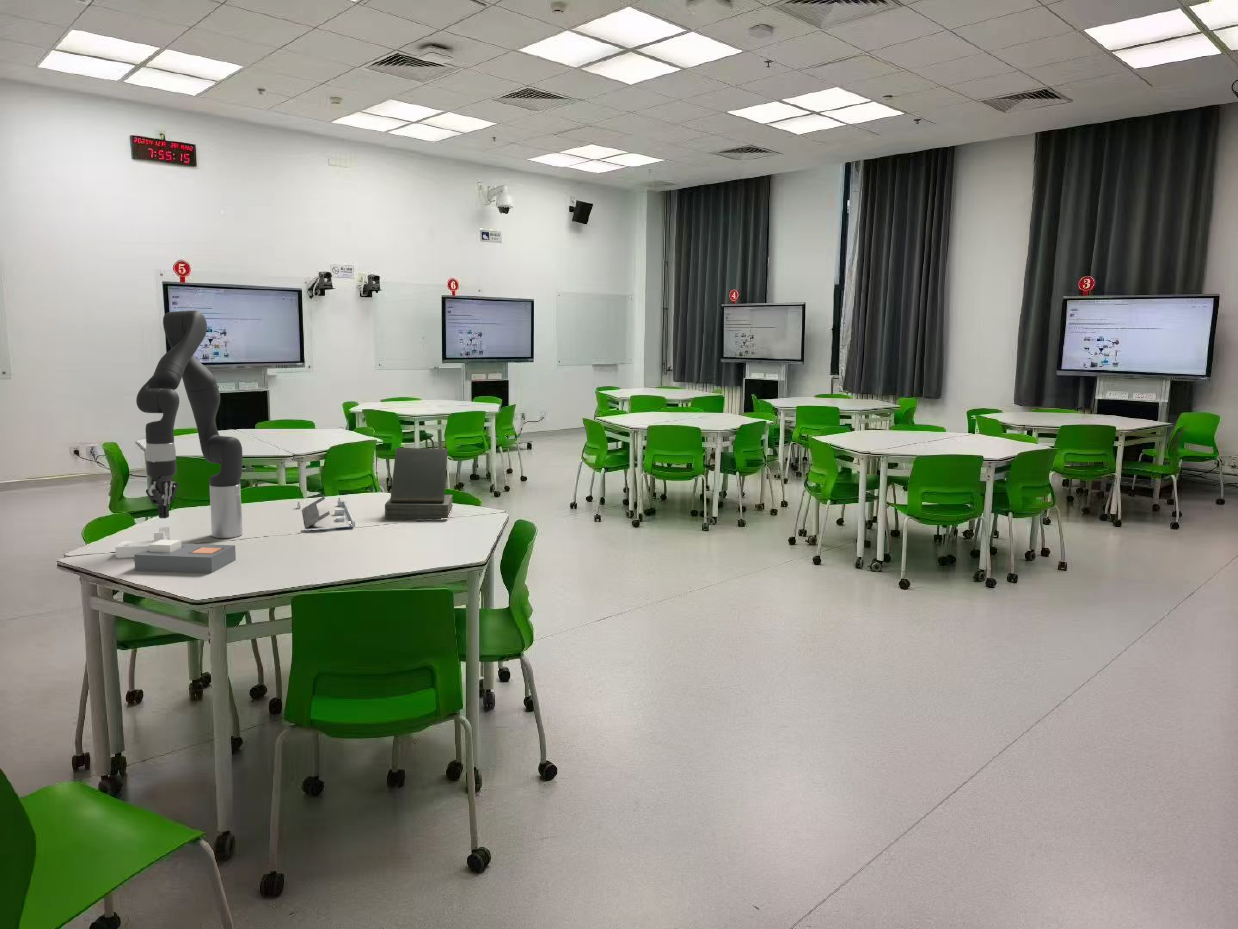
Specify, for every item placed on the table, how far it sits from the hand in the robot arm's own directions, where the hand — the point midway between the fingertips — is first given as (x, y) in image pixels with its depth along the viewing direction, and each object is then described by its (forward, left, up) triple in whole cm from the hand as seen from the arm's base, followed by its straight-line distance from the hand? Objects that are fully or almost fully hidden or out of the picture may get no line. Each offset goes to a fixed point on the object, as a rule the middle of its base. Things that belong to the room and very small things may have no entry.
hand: (163, 517), depth 240 cm
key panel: (0, +6, -14) cm, 15 cm away
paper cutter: (-67, +22, -15) cm, 71 cm away
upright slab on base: (-78, +54, -14) cm, 96 cm away
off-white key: (0, 0, -11) cm, 11 cm away
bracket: (-10, -13, -14) cm, 22 cm away
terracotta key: (0, +12, -13) cm, 17 cm away
